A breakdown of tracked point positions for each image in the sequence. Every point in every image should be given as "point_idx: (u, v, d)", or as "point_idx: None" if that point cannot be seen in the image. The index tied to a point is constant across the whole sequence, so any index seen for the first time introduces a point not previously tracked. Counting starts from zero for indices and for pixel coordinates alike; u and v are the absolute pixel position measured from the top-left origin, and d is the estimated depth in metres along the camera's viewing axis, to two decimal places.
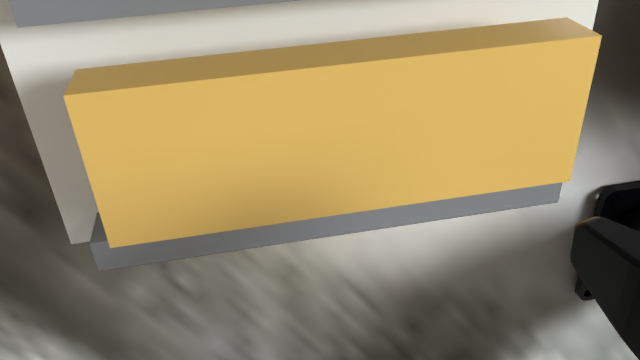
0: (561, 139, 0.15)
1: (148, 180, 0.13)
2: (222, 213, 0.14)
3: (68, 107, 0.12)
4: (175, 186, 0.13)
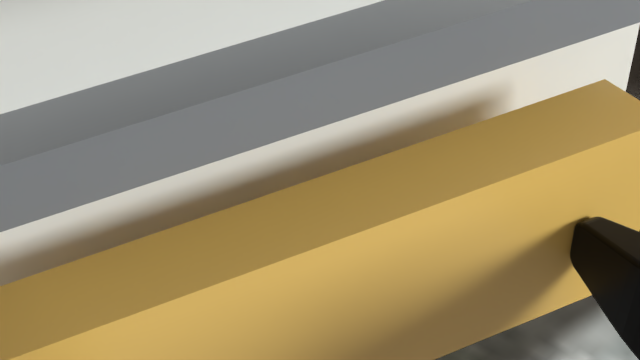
0: None
1: None
2: None
3: None
4: None
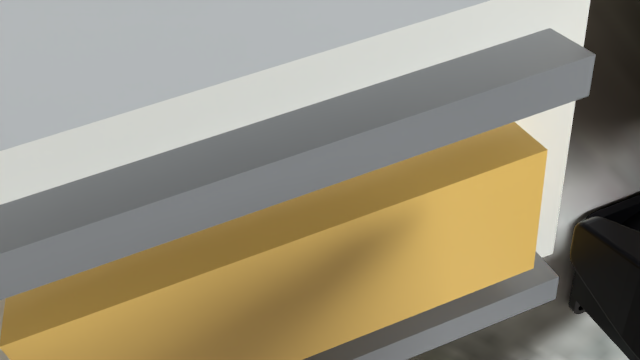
0: (520, 239, 0.14)
1: None
2: None
3: (8, 354, 0.11)
4: None
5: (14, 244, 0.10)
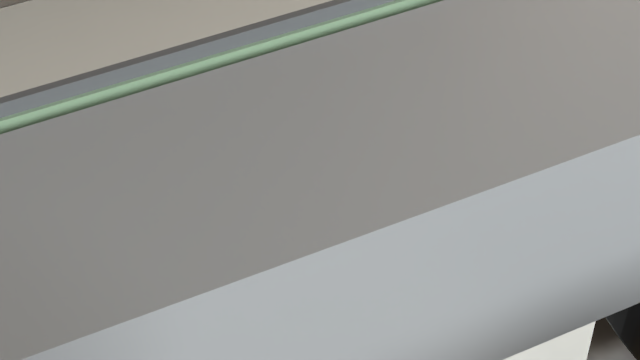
0: None
1: None
2: None
3: None
4: None
5: None
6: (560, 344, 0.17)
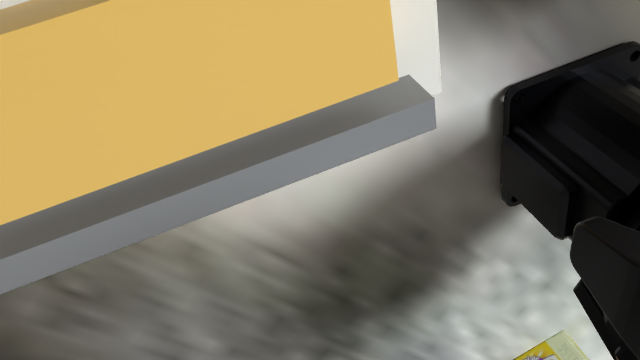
0: (374, 38, 0.14)
1: None
2: (21, 195, 0.13)
3: None
4: None
5: None
6: None
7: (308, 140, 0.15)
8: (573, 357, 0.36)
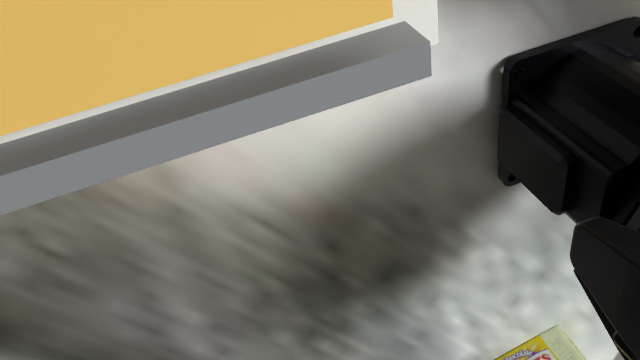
0: None
1: None
2: None
3: None
4: None
5: None
6: None
7: (297, 79, 0.14)
8: (567, 352, 0.35)
